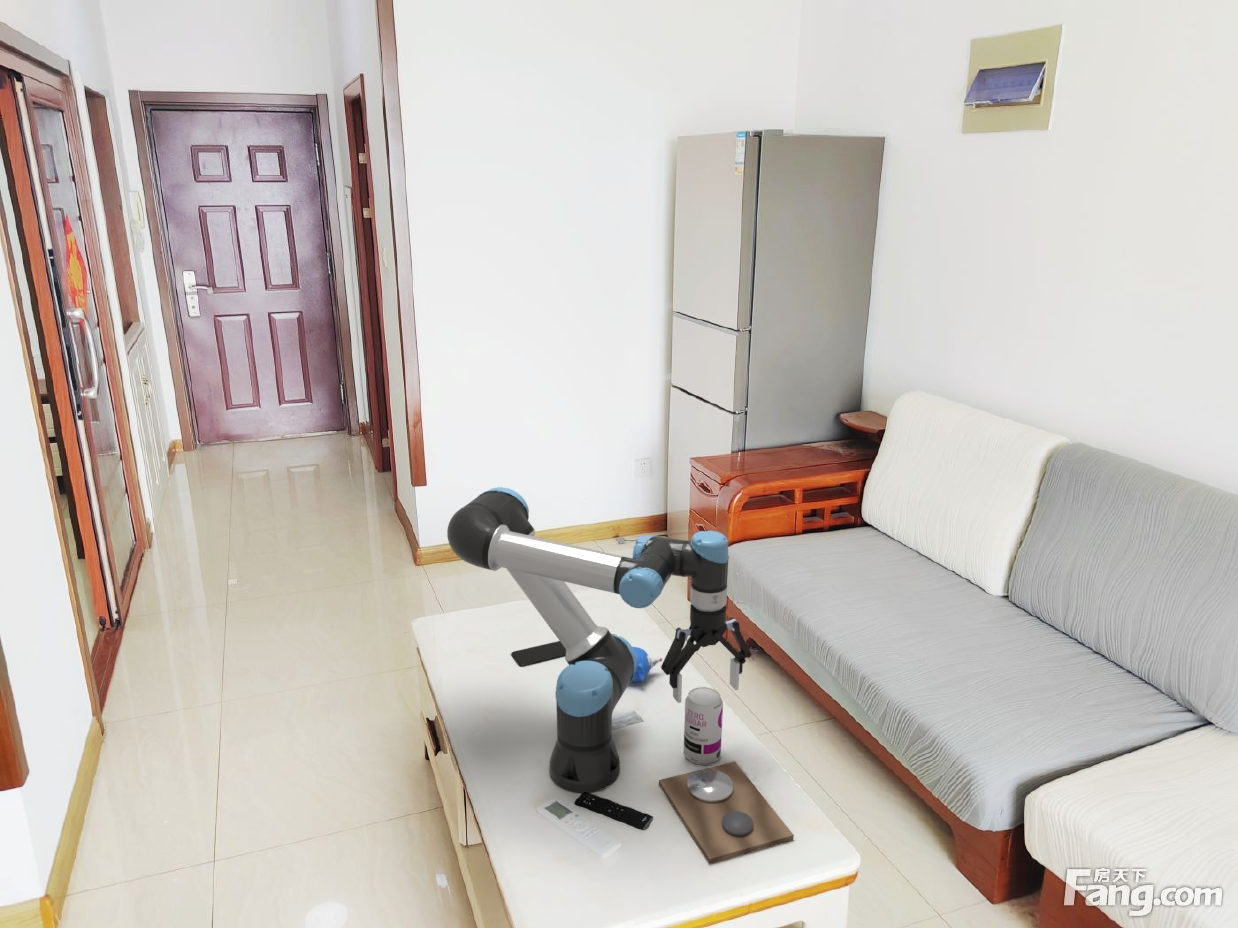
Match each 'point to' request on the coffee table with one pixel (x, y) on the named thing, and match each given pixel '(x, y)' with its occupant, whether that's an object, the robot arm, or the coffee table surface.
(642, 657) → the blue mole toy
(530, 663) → the smartphone
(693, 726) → the supplement can
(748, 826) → the grey disc
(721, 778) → the large steel flange
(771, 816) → the walnut board
